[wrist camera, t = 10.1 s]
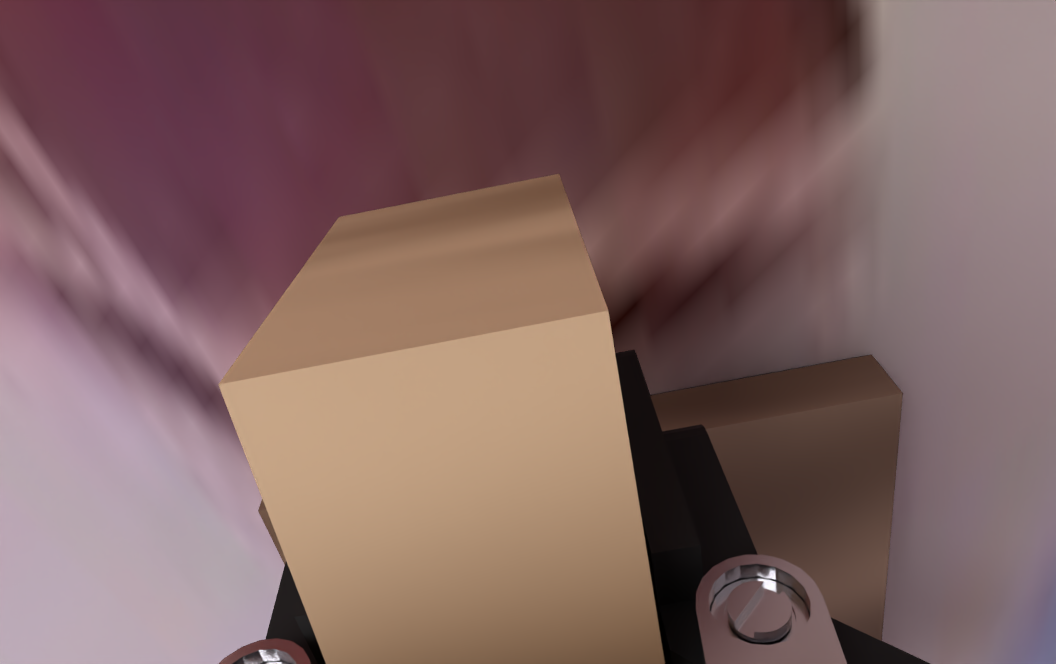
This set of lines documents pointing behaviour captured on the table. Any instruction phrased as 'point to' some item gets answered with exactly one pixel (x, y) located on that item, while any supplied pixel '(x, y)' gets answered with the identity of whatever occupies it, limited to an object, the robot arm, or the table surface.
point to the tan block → (451, 439)
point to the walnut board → (804, 471)
